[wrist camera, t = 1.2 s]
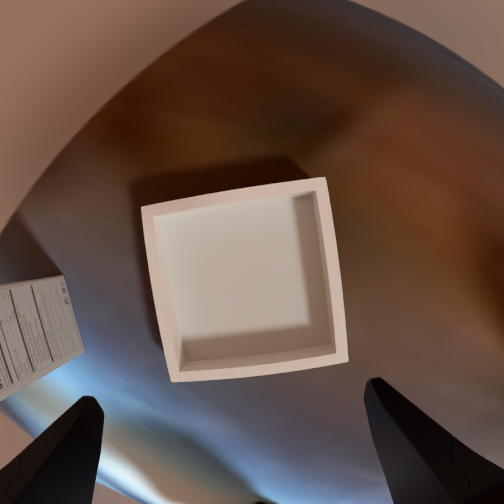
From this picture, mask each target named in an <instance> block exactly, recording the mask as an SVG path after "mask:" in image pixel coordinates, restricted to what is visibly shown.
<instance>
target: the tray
mask: <svg viewBox="0 0 504 504" xmlns="http://www.w3.org/2000/svg"><path fill="white" fill-rule="evenodd" d="M141 213H142V222H143V230H144V238H145V246H146V253H147V260H148V267H149V273H150V280H151V286H152V292H153V297H154V303H155V309H156V314H157V319H158V324H159V329H160V334H161V339H162V344H163V349H164V353H165V358H166V362H167V366H168V371H169V375H170V379H171V382H186V381H204V380H218V379H230V378H241V377H251V376H260V375H268V374H276V373H283V372H291V371H297V370H304V369H310V368H316V367H322V366H328V365H333V364H339V363H344V362H348V348H347V336H346V324H345V313H344V303H343V294H342V285H341V276H340V268H339V260H338V253H337V245H336V238H335V231H334V225H333V218H332V212H331V206H330V200H329V194H328V188H327V183H326V177H320V178H312V179H304V180H296V181H289V182H281V183H274V184H267V185H261V186H254V187H247V188H241V189H235V190H229V191H223V192H217V193H211V194H205V195H200V196H194V197H189V198H183V199H178V200H173V201H168V202H162V203H157V204H152V205H148V206H143V207H141Z"/></svg>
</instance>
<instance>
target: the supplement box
mask: <svg viewBox="0 0 504 504" xmlns="http://www.w3.org/2000/svg"><path fill="white" fill-rule="evenodd" d="M84 352H85V348H84V345H83V341H82V338H81V335H80V332H79V328H78V325H77V322H76V319H75V315H74V312H73V308H72V305H71V301H70V297H69V293H68V290H67V286H66V282H65V278H64V276H63V275H59V276H52V277H47V278H41V279H34V280H27V281H20V282H13V283H7V284H0V401H2V400H3V399H5V398H7V397H9V396H10V395H12V394H14V393H15V392H17V391H19V390H20V389H22V388H24V387H26V386H28V385H29V384H31V383H33V382H35V381H36V380H38V379H40V378H42V377H43V376H45V375H47V374H48V373H50V372H52V371H53V370H55V369H57V368H59V367H60V366H62V365H64V364H65V363H67V362H69V361H70V360H72V359H74V358H75V357H77V356H79V355H80V354H82V353H84Z"/></svg>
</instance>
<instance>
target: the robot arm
mask: <svg viewBox="0 0 504 504" xmlns="http://www.w3.org/2000/svg"><path fill="white" fill-rule="evenodd" d="M364 403H365V407H366V412H367V416H368V421H369V425H370V430H371V435H372V439H373V442H374V446H375V449H376V451H377V454H378V457H379V460H380V463H381V466H382V469H383V472H384V475H385V478H386V481H387V484H388V487H389V490H390V493H391V496H392V499H393V503H394V504H504V469H502V468H501V467H499V466H497V465H496V464H494V463H492V462H490V461H489V460H487V459H485V458H484V457H482V456H480V455H479V454H477V453H476V452H474V451H473V450H471V449H470V448H469V447H467V446H466V445H464V444H463V443H462V442H460V441H459V440H458V439H457V438H455V437H453V435H452V434H450V433H449V432H448V431H446V430H445V429H444V428H443V427H441V426H440V425H439V424H438V423H436V422H435V421H434V420H433V419H431V418H430V417H429V416H428V415H426V414H425V413H424V412H423V411H422V410H420V409H419V408H418V407H417V406H415V405H414V404H413V403H412V402H410V401H409V400H408V399H407V398H405V397H404V396H403V395H402V394H400V393H399V392H398V391H397V390H396V389H394V388H393V387H392V386H391V385H389V384H388V383H387V382H386V381H385V380H383V379H382V378H380V377H376V378H372V379H369V380H368V381H367V384H366V388H365V393H364ZM103 424H104V412H103V410H102V408H101V407H100V405H99V403H98V402H97V400H96V399H95V398H94V397H93V396H83V397H81V398H80V399H79V400H78V401H77V402H76V403H75V404H73V405H72V406H71V407H70V408H69V409H68V410H67V411H66V412H65V413H63V414H62V415H61V416H60V417H59V418H58V419H57V420H56V421H55V422H54V423H52V424H51V425H50V426H49V427H48V428H47V429H46V430H45V431H44V432H43V433H41V434H40V435H39V436H38V437H37V438H36V439H35V440H34V441H33V442H32V443H31V444H29V445H28V446H27V447H26V448H25V449H24V450H23V451H22V452H21V453H20V454H18V455H17V456H16V457H15V458H14V459H13V460H12V461H11V462H9V463H8V464H7V465H6V466H5V467H3V468H2V469H1V470H0V504H92V498H93V492H94V486H95V480H96V475H97V469H98V464H99V459H100V453H101V444H102V434H103ZM255 504H265V503H263V502H257V503H255Z"/></svg>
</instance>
